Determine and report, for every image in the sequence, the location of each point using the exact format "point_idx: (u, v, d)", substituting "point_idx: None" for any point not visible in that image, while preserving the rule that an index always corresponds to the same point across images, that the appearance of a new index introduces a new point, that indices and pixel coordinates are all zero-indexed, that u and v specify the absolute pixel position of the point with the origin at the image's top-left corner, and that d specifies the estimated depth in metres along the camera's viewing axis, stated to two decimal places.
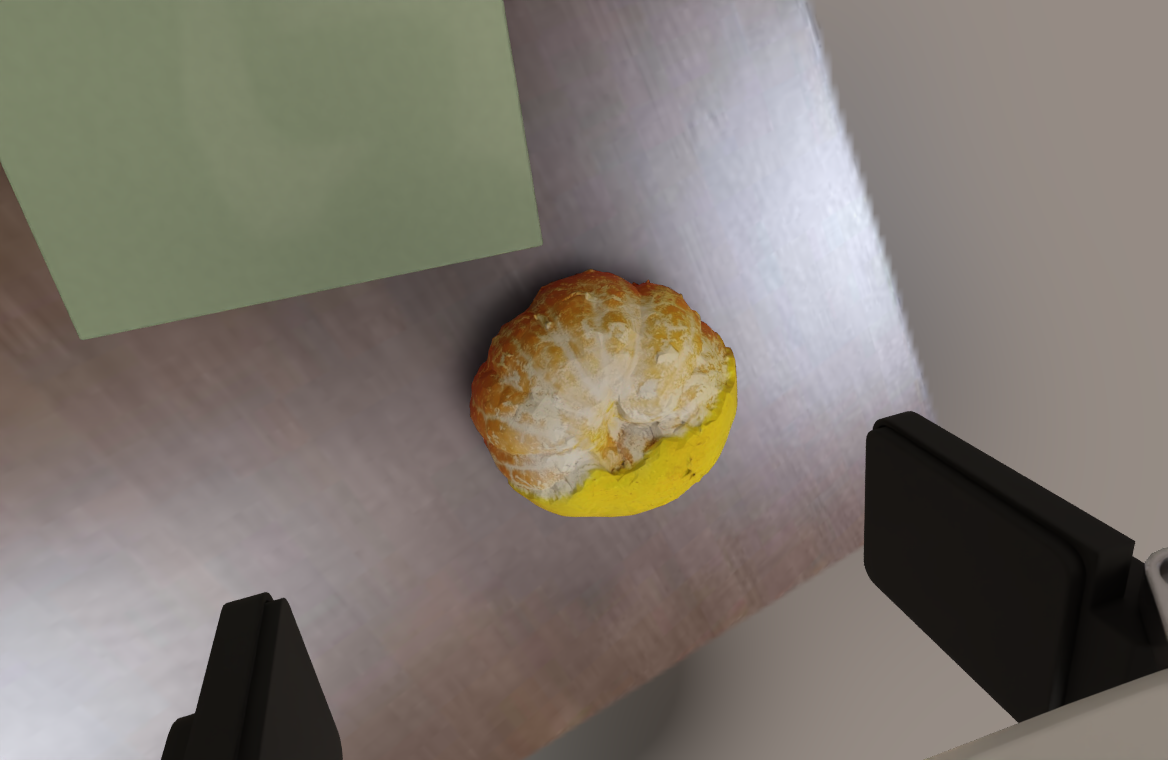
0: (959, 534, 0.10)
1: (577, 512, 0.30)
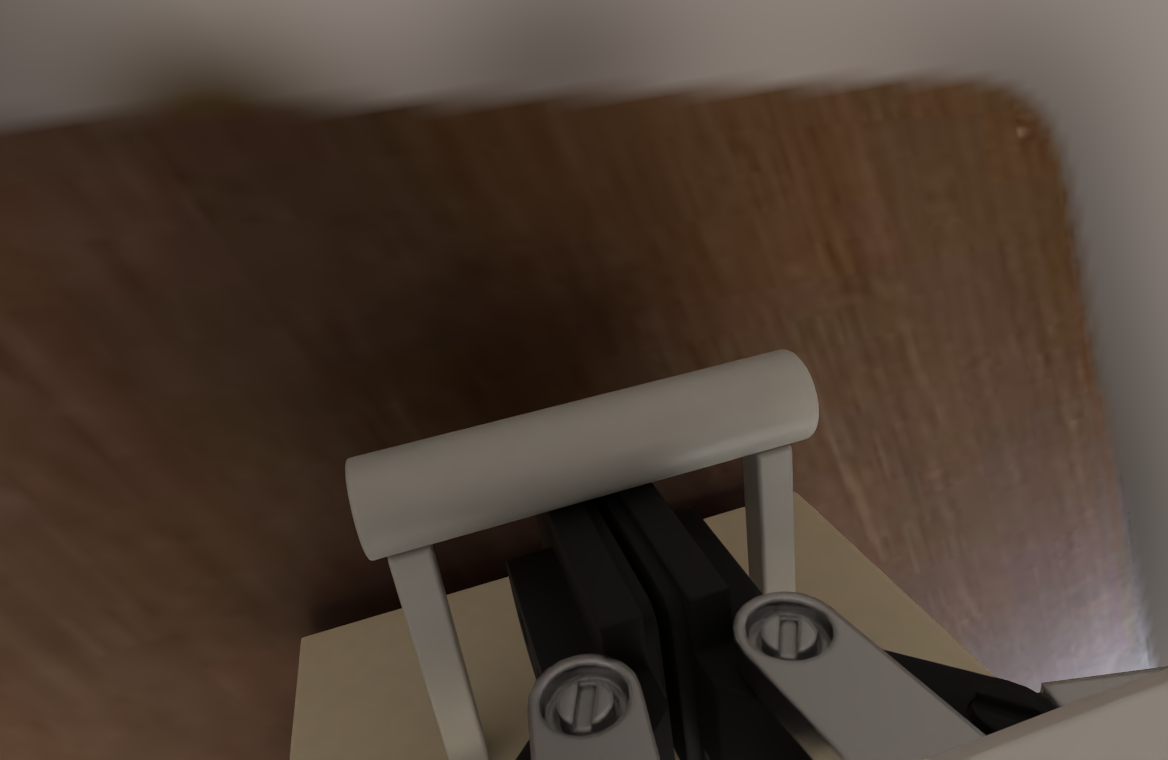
0: None
1: None
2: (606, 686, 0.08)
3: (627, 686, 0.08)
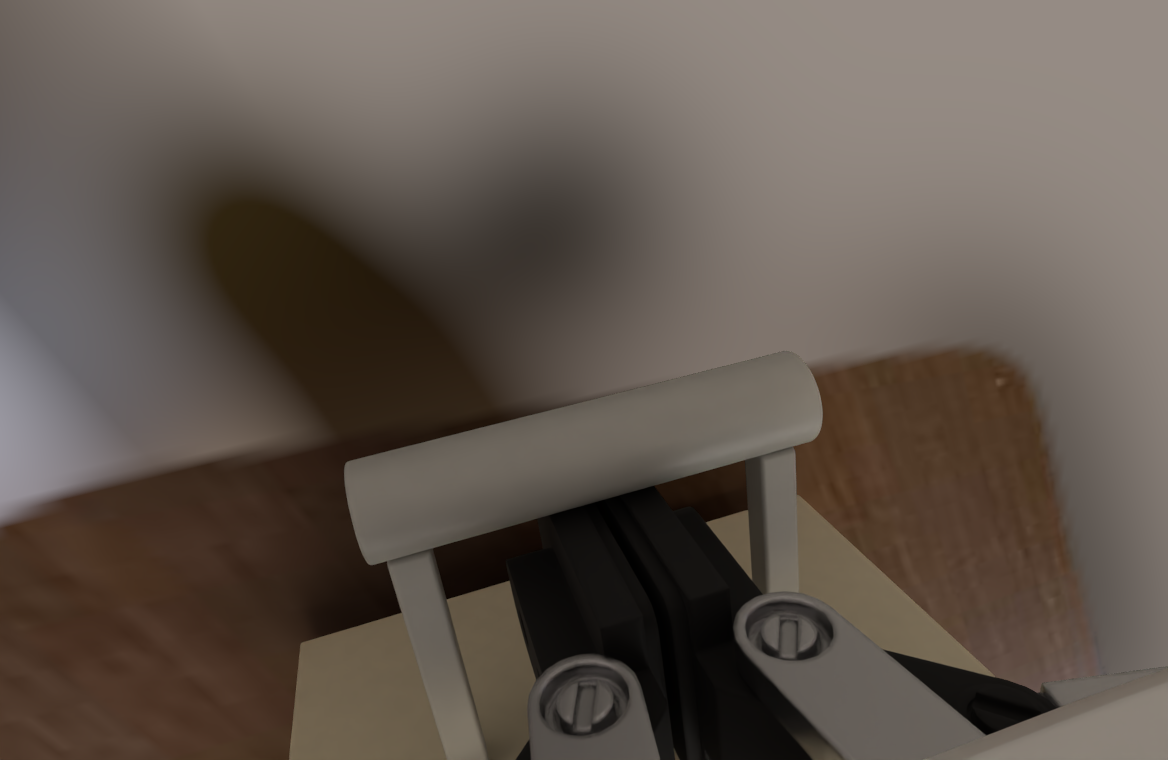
0: None
1: None
2: (606, 686, 0.08)
3: (627, 686, 0.08)
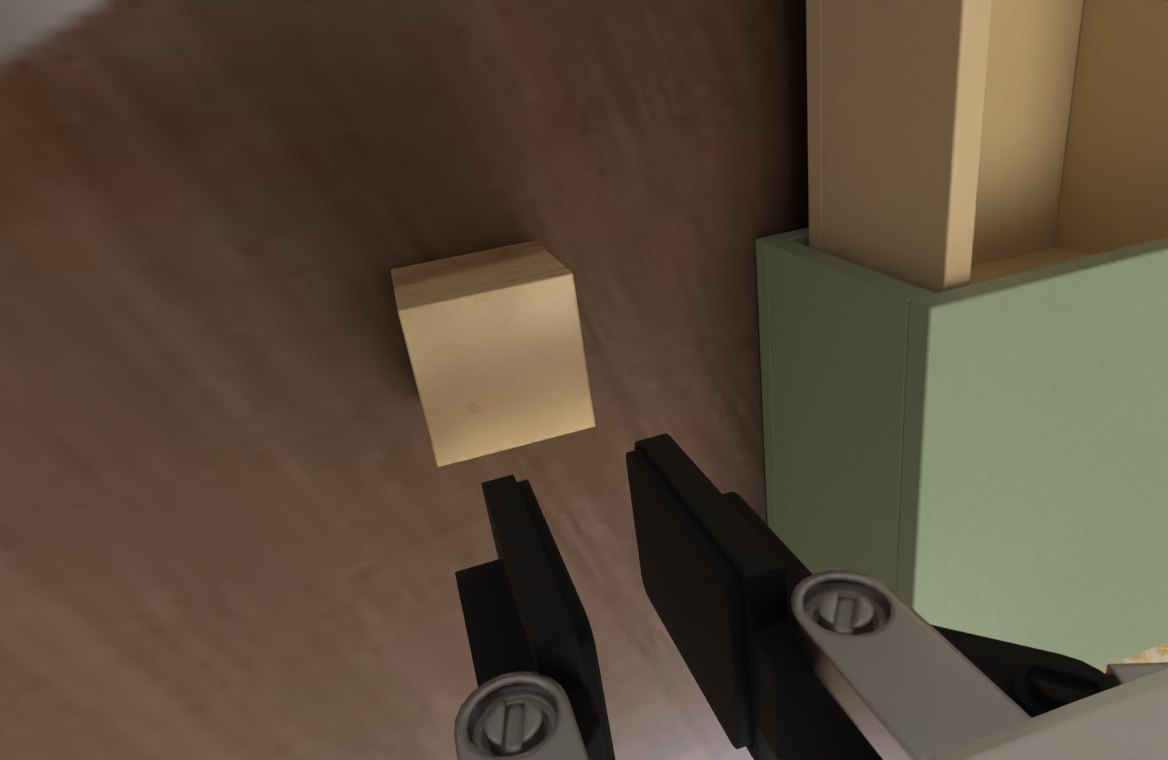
0: (677, 554, 0.10)
1: None
2: (536, 705, 0.08)
3: (557, 705, 0.08)
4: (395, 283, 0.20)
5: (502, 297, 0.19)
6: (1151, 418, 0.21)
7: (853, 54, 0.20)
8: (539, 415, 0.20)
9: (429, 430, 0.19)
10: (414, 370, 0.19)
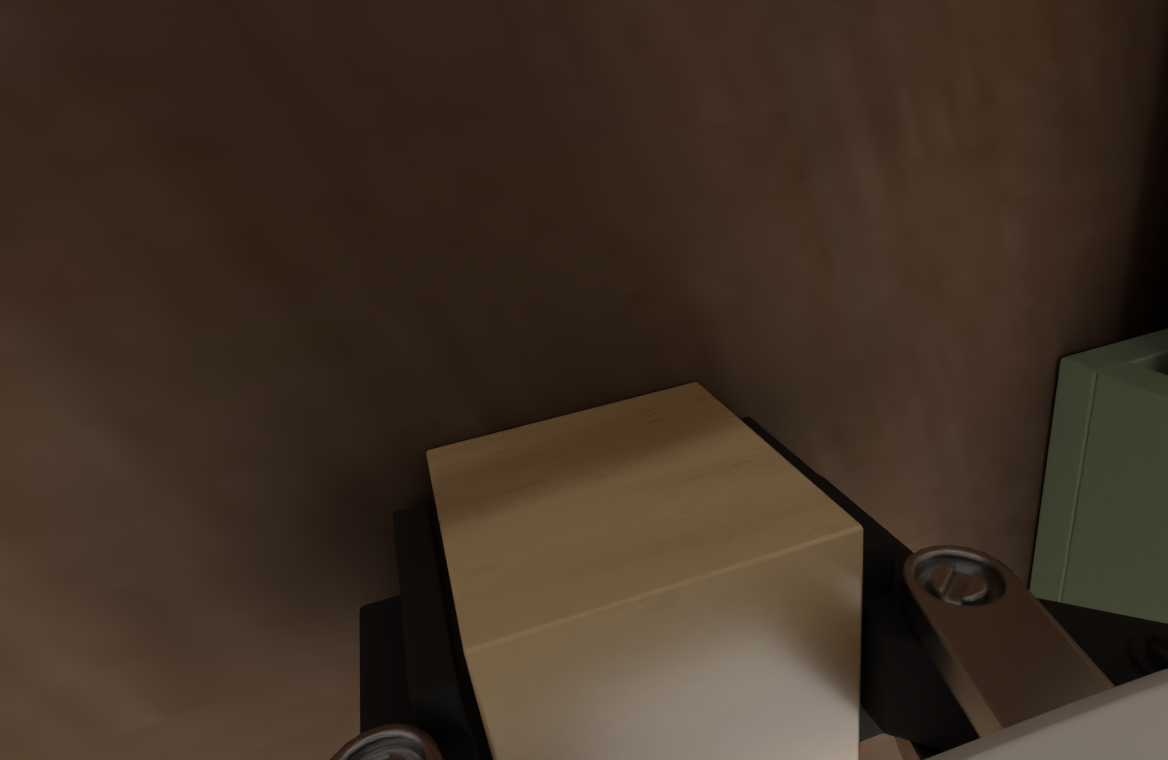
0: None
1: None
2: None
3: None
4: (442, 509, 0.10)
5: (708, 594, 0.08)
6: None
7: None
8: None
9: None
10: None
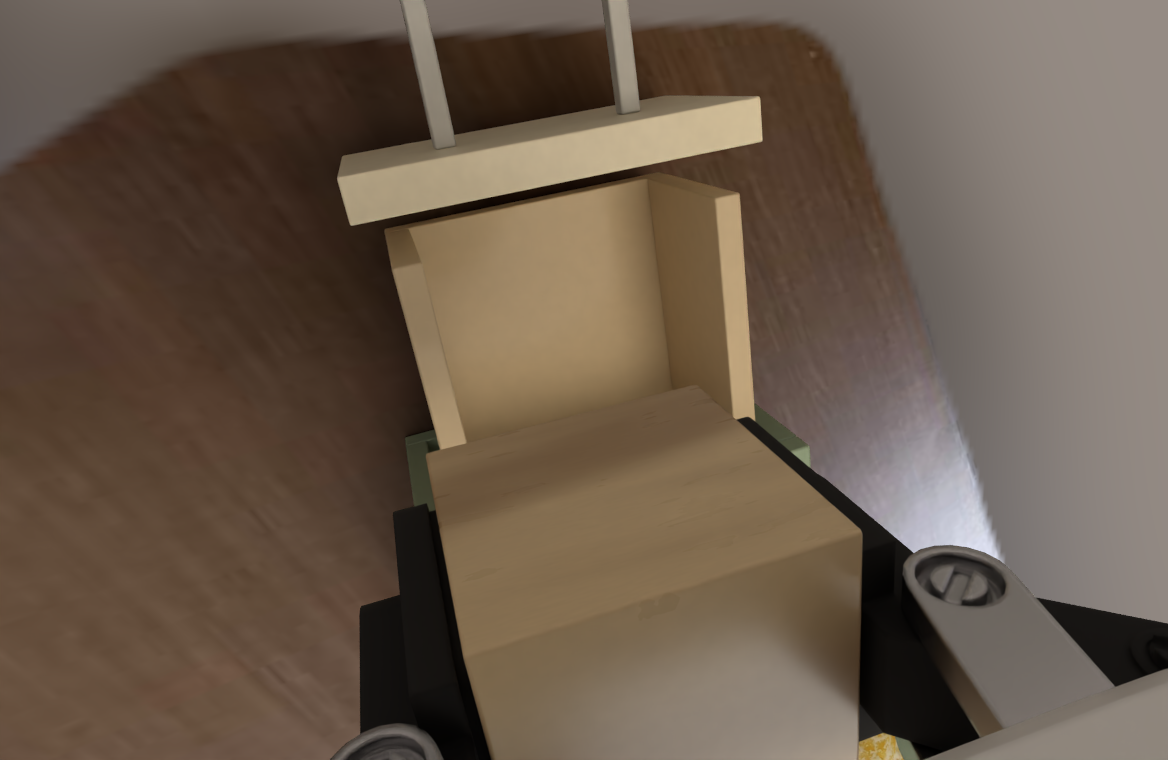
0: None
1: None
2: None
3: None
4: (442, 513, 0.10)
5: (707, 598, 0.08)
6: None
7: None
8: None
9: None
10: None
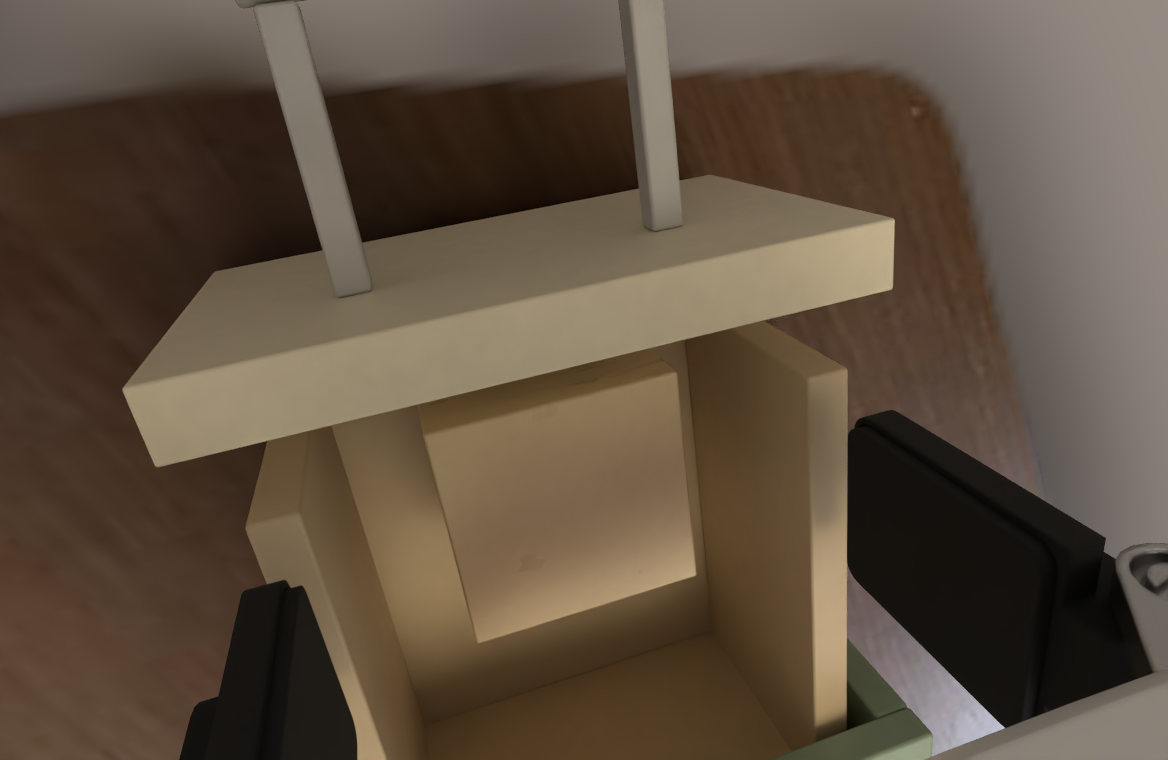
0: (937, 532, 0.10)
1: None
2: None
3: None
4: None
5: (576, 410, 0.13)
6: None
7: None
8: (621, 566, 0.14)
9: (466, 596, 0.13)
10: (446, 516, 0.13)
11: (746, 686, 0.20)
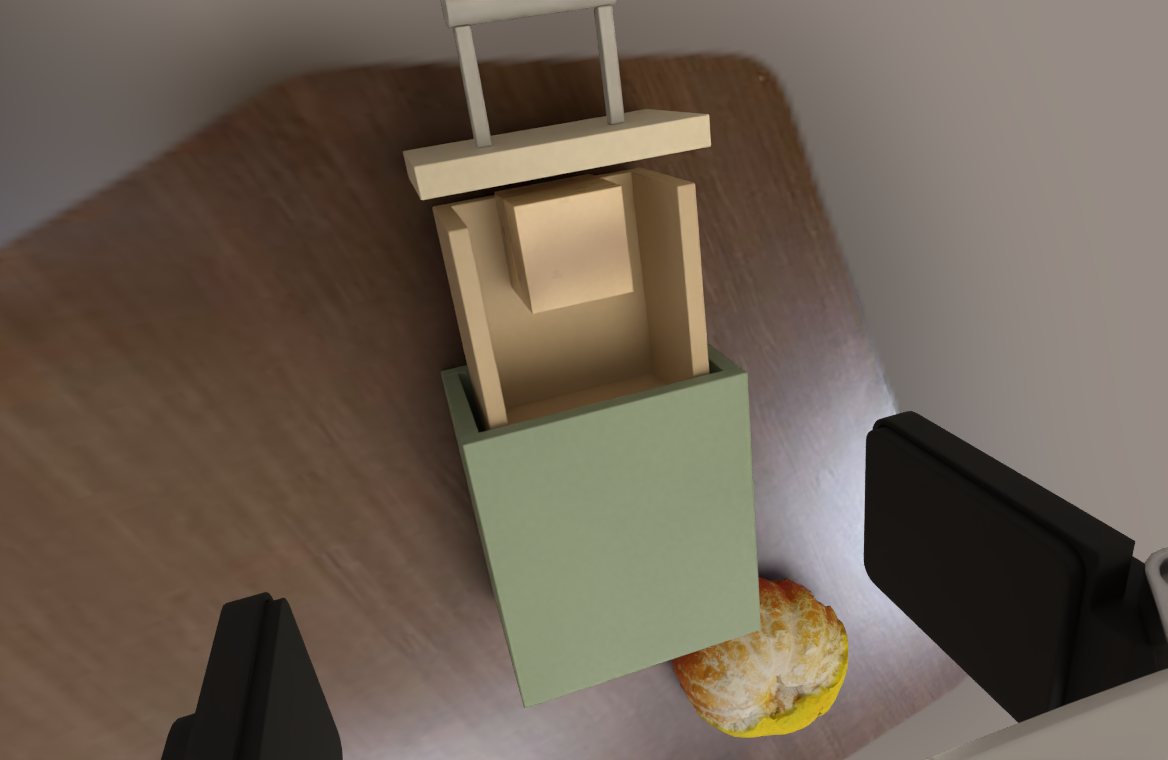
0: (959, 534, 0.10)
1: (746, 737, 0.46)
2: None
3: None
4: (502, 196, 0.31)
5: (577, 200, 0.29)
6: (652, 500, 0.33)
7: (450, 277, 0.32)
8: (597, 281, 0.31)
9: (528, 288, 0.30)
10: (521, 246, 0.29)
11: None
